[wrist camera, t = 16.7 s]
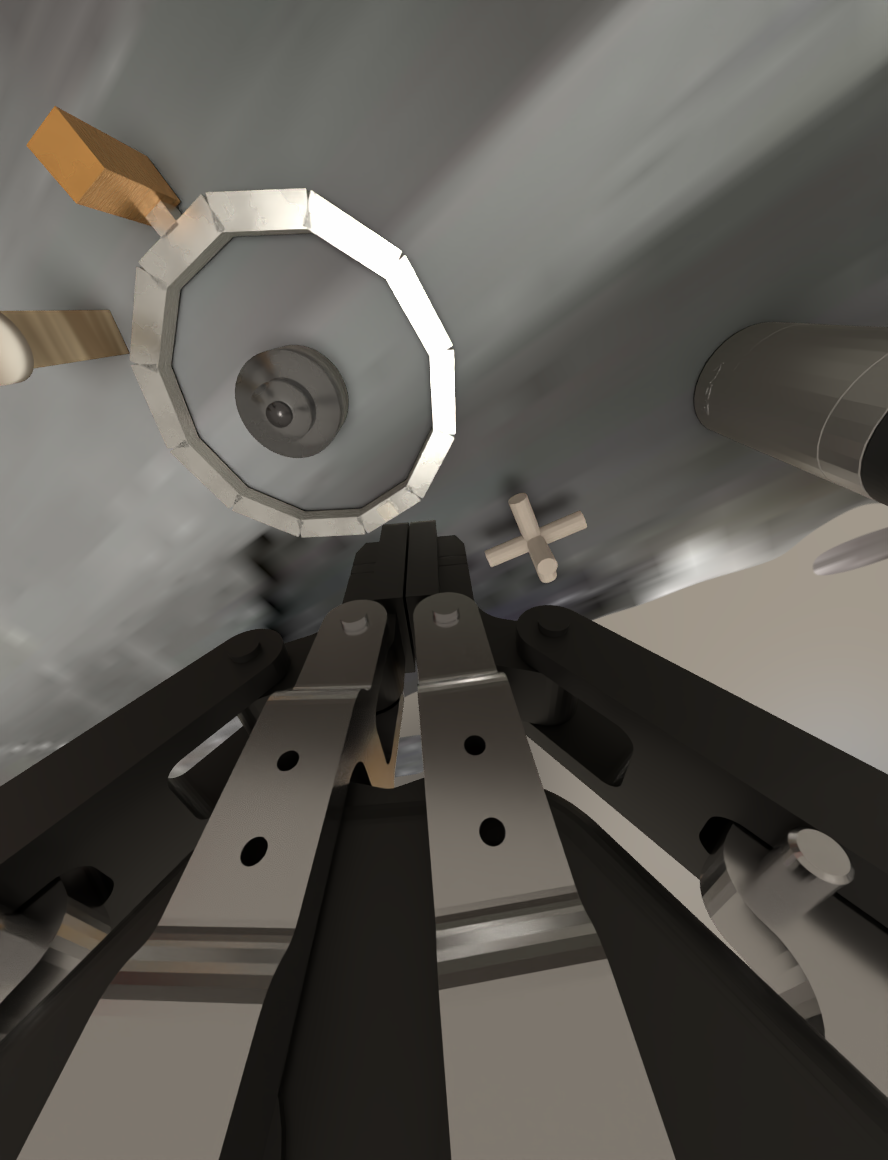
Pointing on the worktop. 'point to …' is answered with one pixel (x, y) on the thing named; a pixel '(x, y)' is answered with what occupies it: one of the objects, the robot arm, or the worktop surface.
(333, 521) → the ring
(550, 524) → the pipe connector
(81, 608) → the worktop surface
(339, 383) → the cover
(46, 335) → the gauge stand
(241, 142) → the worktop surface
